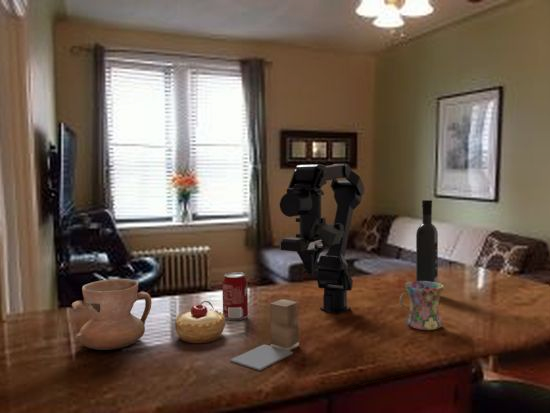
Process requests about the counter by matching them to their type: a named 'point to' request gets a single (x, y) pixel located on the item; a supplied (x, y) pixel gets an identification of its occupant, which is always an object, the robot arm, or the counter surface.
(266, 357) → the mat
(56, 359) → the counter surface
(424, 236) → the wine bottle
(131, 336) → the ceramic jug
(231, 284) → the soda can
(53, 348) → the counter surface
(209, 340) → the pastry
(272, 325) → the block
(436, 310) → the mug
